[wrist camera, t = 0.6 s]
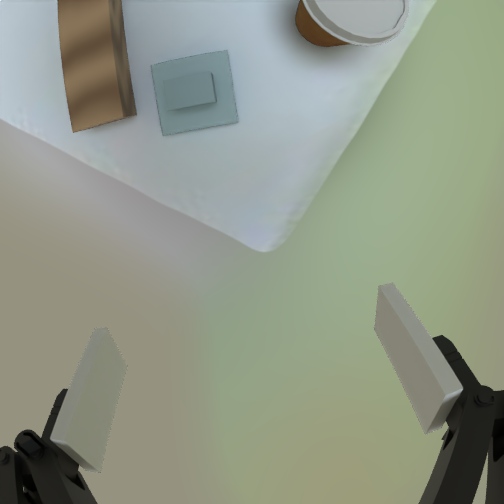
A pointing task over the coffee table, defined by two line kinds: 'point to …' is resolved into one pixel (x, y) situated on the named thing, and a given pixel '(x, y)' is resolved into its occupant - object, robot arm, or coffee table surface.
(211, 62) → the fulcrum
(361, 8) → the disposable coffee cup
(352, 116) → the coffee table surface
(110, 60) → the batten
